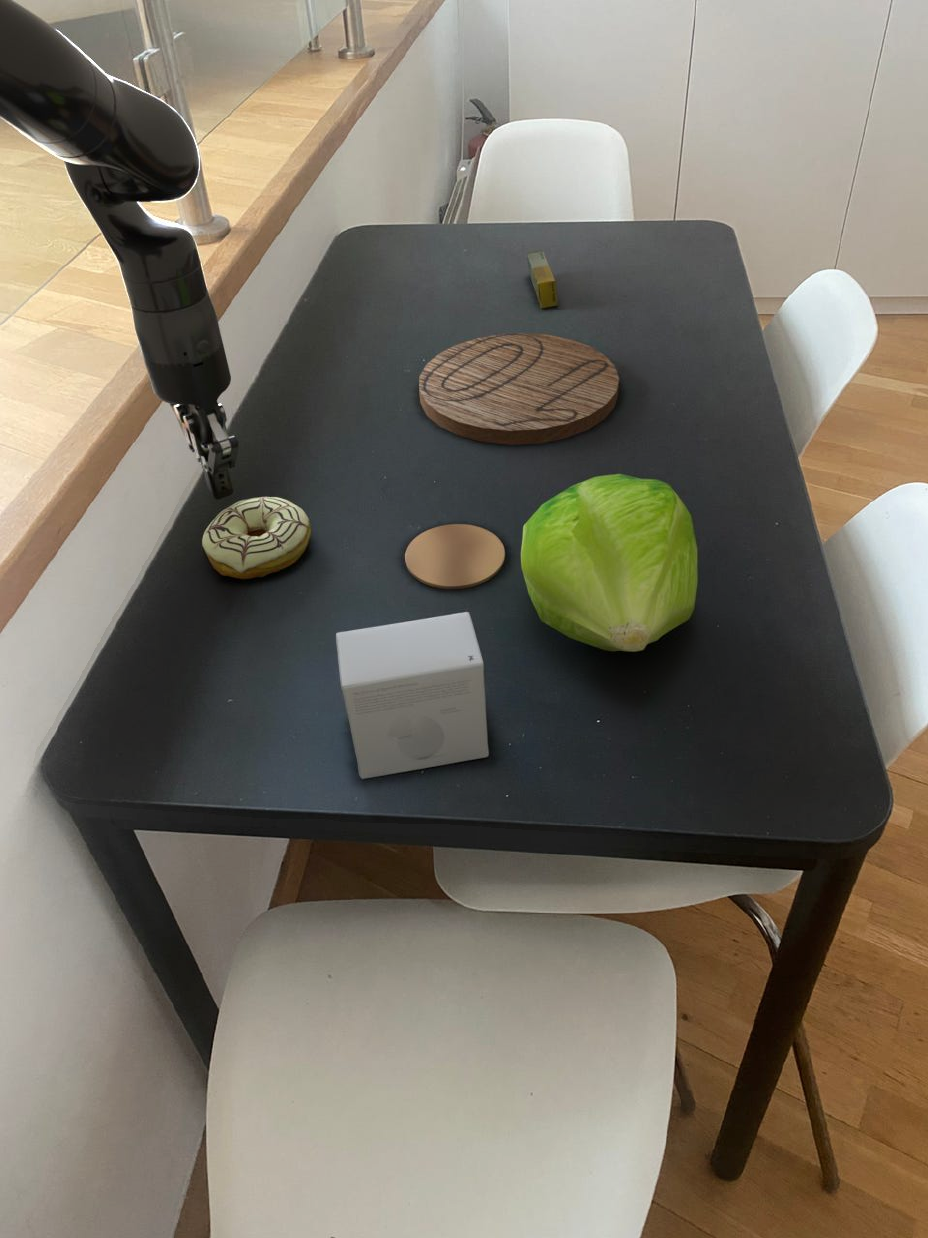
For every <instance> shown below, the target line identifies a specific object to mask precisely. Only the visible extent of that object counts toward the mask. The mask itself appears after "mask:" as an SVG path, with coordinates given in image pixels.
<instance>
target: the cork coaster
mask: <svg viewBox="0 0 928 1238" xmlns="http://www.w3.org/2000/svg"><path fill="white" fill-rule="evenodd" d="M502 542H503V541H501V539H500V538H499V537H498V536H497V535H495V533H493V532H491V531H489V530H488V529H486V528H483V527H480V526H476V525H473V524H466V523H452V524H451V523H450V524H443V525H439V526H435V527H432V528H430V529H427V530H425V531H424V532H423V531H422V532H421V533H419V535H417V536H416V537H415V538H414V539H412V541H410V543H409V544H408V546H407V548H406V550H405V554H404V559H405V566H406V569H407V570H408V572H409V573H410V575H411V576H412V577H413V578H414V579H416V580H417V581H419V582H421V583H422V584H424V585H426V586H429V587H432V588H435V589H436V588H437V589H441V590H442V589H443V590H461V589H468V588H473V587H476V586H479V585H481V584H483V583H486V582H487V581H489V580H491V579H492V578H493V577H495V576H496V575H497V574H498V573H499V572H500V571H501V569H502V568H503V565H504V563H505V560H506V551H505V547H504V544H503V543H502Z"/></svg>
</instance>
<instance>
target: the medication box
mask: <svg viewBox="0 0 928 1238" xmlns="http://www.w3.org/2000/svg"><path fill="white" fill-rule="evenodd" d="M526 257H527V266H528V272H529V273H528V274H529V279H530V281H531V283H532V284H531V285H532V287H533V289H534V292H535V295H536V298H537V301H538V304H539V307H540V309H545V308H551V307H556V306H558V304H559V303H558V293H557V284H556V279H555V277H554V274H553V272H552V268H551V267H550V264H549V262H548V259H547V256H546V254H545V252H544V250H536V251H531V252H528V253H526Z"/></svg>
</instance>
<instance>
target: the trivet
mask: <svg viewBox="0 0 928 1238" xmlns="http://www.w3.org/2000/svg"><path fill="white" fill-rule="evenodd" d="M418 379H419V380H418V383H419V384H418V386H419V387H418V388H419V389H418V392H419V403H420V405H421V407H422V409H423V411H424V413H425V415H426V416H427V417H428V418H429V419H430V420H432V422H434V423H435V424H436V425H437V426H439V427H440V428H442V429H444V430H446V431H448V432H450V433H452V434H454V435H456V436H459V437H462V438H466V439H469V440H473V441H478V442H481V443H487V444H496V445H499V444H500V445H507V446H517V445H535V444H537V445H538V444H544V443H549V442H555V441H559V440H564V439H568V438H570V437H573V436H576V435H578V434H581V433H583V432H587V431H589V430H590V429H592V428H593V427H595V426H597V425H598V424H599V423H601V422H603V421H604V420H605V419H606V418H607V417H608V416H609V414H610V413H611V412H612V411H613V410H614V408H615V406H616V404H617V400H618V395H619V388H620V377H619V374H618V371H617V368H616V366H615V365H614V363H613V362H611V360H610V359H609V358H608V357H607V356H606V355H605V354H603V353H602V352H600V351H598V350H597V349H595V348H594V347H591V345H588V344H585V343H582V342H579V341H578V340H577V341H576V340H575V339H571V338H566V337H560V336H557V335H551V334H544V333H543V334H541V333H528V332H520V333H500V334H495V335H489V336H482V337H476V338H473V339H471V340H467V341H464V342H460V343H457V344H456V345H453V346H451V347H449V348H447V349H445V350H444V351H440V353H438V354H437V355H436V356H434V358H432V359H430V361H428V362H427V363H426V365H425V366H424V368H423V369H422V371H421V373H420V375H419V378H418Z"/></svg>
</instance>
